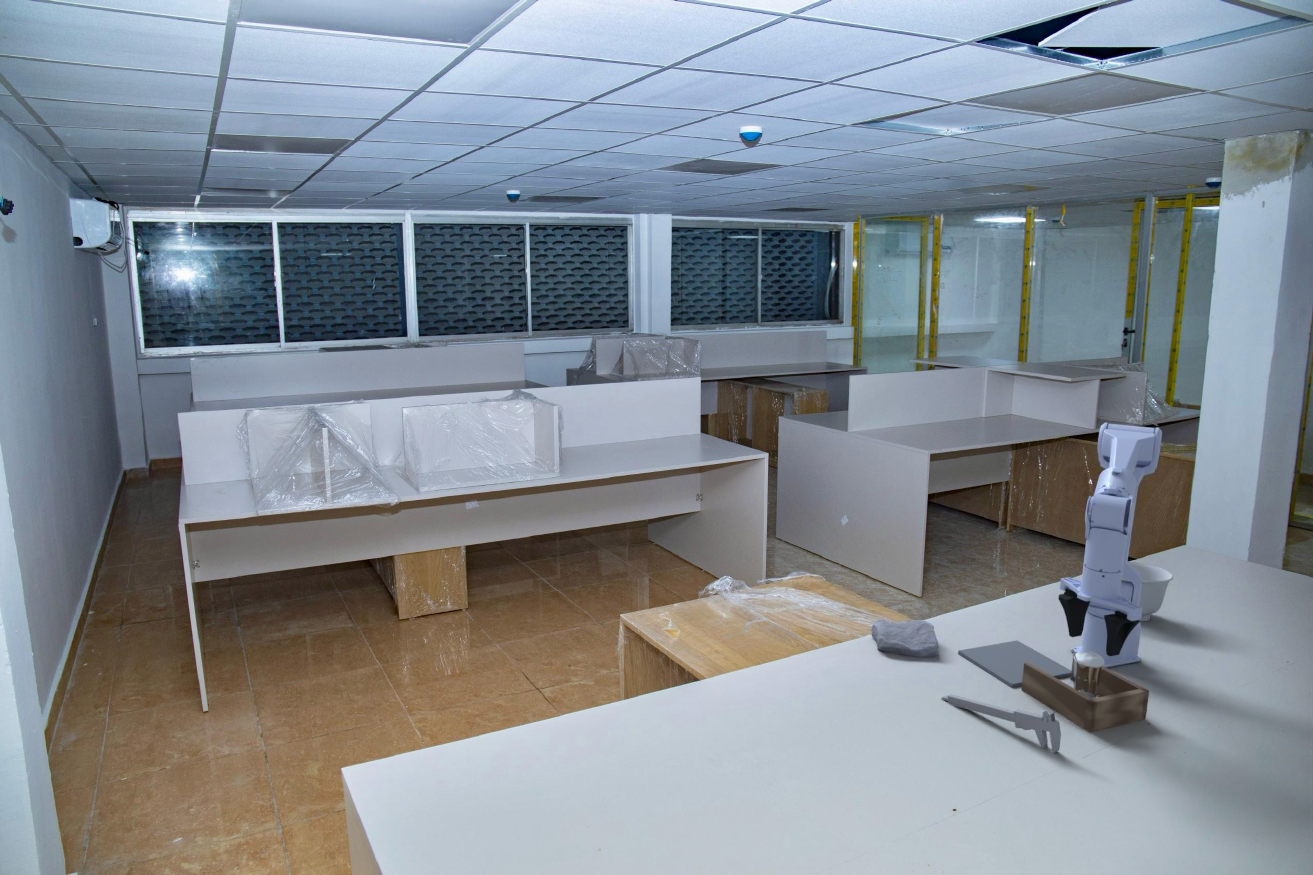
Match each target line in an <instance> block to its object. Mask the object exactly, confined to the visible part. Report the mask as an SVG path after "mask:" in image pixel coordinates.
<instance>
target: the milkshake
mask: <svg viewBox="0 0 1313 875" xmlns="http://www.w3.org/2000/svg"><path fill="white" fill-rule="evenodd" d="M1072 650H1073V649H1072ZM1072 653H1073V654H1074V682H1073V686H1072V688H1074V689H1076V690H1078V691H1079V692H1081V693H1083V694H1084V695H1086V696H1088V697H1090V698H1091V699H1094V698H1098V697H1097V696H1098V695H1097V693H1098V689H1099V684H1100V679H1101V675H1102V671H1103V667H1104V659H1103V658H1102V657H1101V656H1100V655H1099V654H1096V653H1094V652H1092V651H1086V650H1081V651H1079V652H1078V653H1076V654H1075V652H1074V650H1073V652H1072Z"/></svg>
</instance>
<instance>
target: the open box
mask: <svg viewBox="0 0 1313 875" xmlns="http://www.w3.org/2000/svg"><path fill="white" fill-rule="evenodd" d="M1075 654H1076V653H1075ZM1071 671H1072V672H1071V676H1070V681H1072V682H1073V683H1074V653H1073V657H1072V665H1071ZM1020 690H1021V691H1023V692H1024V693H1025V694H1028V695H1029V696H1031V697H1032V698H1034V700H1035V699H1036V700H1037V701H1039V702H1040V703H1042V704H1043V705H1045V706H1047V707H1048V708H1049V709H1051V710H1053V711H1054V712H1056V713H1058V714H1059V715H1061V716H1062V717H1063V718H1066V719H1067V720H1069V721H1070V722H1072V723H1074V724H1075V725H1077V726H1078V727H1080V728H1082V729H1083V730H1085V731H1086V732H1088V733H1091V732H1095V731H1099V730H1104V729H1109V728H1111V727H1116V726H1120V725H1125V724H1129V723H1135V722H1139V721H1143V720H1146V718H1147V710H1148V705H1149V704H1148V703H1149V697H1150V690H1149V689H1147V688H1145V687H1143V686H1141V685H1139V684H1137V683H1135V682H1134V681H1132V680H1130V679H1128V678H1127V677H1124V676H1123V675H1121V674H1119V673H1117V672H1114V671H1113V670H1111V669H1109V668H1108V667H1107V668H1105V667H1103V671H1102V675H1101V679H1100V684H1099V689H1098V693H1097V696H1098V697H1097V698H1094V699H1091V698H1090V697H1088V696H1086V695H1084V694H1083V693H1081V692H1079V691H1078V690H1076V689H1074V688H1073V686H1071V685H1069V684H1068V683H1065V682H1063V681H1062V680H1060V678H1055V677H1053V676H1052V675H1050V674H1048V673H1047V672H1045V671H1043V670H1041V669H1040V668H1038V667H1036V666H1034V665H1033V664H1031V663H1029V662H1027V663H1024V669H1023V678H1022V685H1021V689H1020Z"/></svg>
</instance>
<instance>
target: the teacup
mask: <svg viewBox="0 0 1313 875" xmlns="http://www.w3.org/2000/svg"><path fill="white" fill-rule="evenodd" d="M1127 562H1128V563H1129V564H1130V565H1131V566H1132V567H1133V568H1134V569H1135V570H1137V571H1138V572H1139V573H1140V575H1141V578H1142V582H1141V597H1140V603H1139V607H1141V608H1143V609H1142V617H1141V620H1140V622H1147V621H1149V620H1150V619H1151V615H1153V614H1156V613H1158V611H1160V610H1161V607H1162V605H1163V602H1164V598H1165V595H1166V592H1167V588H1168V585H1169V583H1170V582H1171V581H1172V580H1173V579H1174V575H1173V574H1172V573H1171V572H1170V571H1168V570H1166V569H1164V568H1161V567H1160V566H1156V565H1154V564H1153V565H1152V564H1150V563H1149V564H1148V563H1144V562H1136V561H1127ZM1122 580H1124V581H1130V580H1129V579H1127V578H1123V577H1122ZM1130 582H1131V581H1130Z"/></svg>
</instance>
